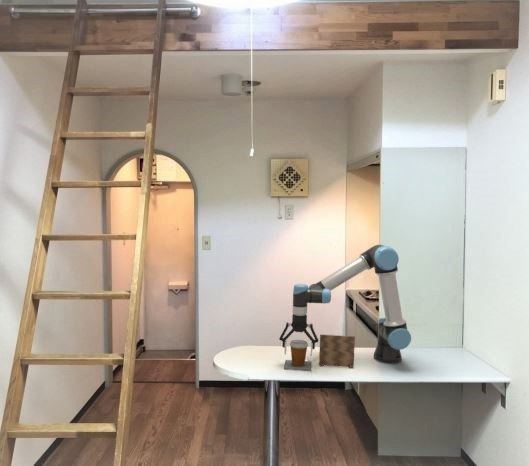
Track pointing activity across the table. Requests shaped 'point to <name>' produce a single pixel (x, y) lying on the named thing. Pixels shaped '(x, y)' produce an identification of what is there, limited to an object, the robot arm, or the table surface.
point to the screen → (337, 350)
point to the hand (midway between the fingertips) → (298, 354)
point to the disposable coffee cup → (298, 352)
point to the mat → (289, 366)
